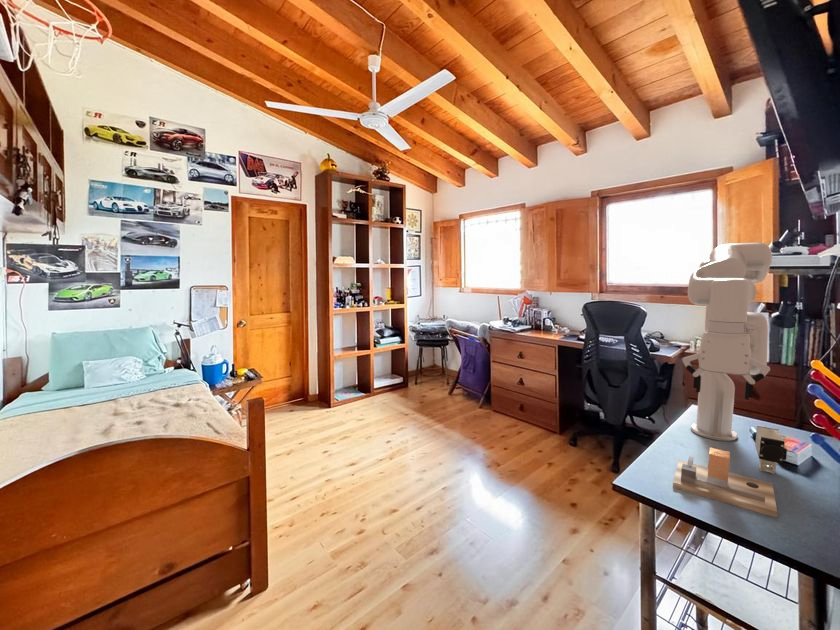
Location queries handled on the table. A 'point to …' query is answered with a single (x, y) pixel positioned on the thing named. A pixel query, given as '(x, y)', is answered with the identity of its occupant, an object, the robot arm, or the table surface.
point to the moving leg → (718, 467)
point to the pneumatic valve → (770, 448)
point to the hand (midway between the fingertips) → (721, 394)
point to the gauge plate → (737, 492)
